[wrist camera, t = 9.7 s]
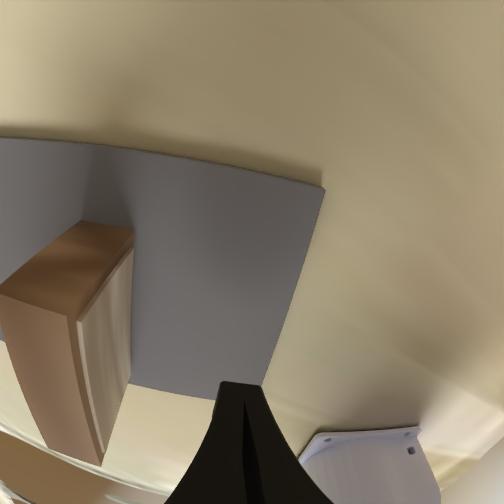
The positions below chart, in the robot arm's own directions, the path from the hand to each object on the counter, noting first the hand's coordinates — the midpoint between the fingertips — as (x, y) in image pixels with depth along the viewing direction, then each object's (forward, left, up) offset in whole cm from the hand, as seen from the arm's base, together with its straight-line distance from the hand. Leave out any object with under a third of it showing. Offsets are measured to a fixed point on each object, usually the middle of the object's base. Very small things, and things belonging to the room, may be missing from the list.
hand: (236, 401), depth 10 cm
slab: (+6, 0, -4) cm, 7 cm away
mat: (+7, -1, -5) cm, 8 cm away
